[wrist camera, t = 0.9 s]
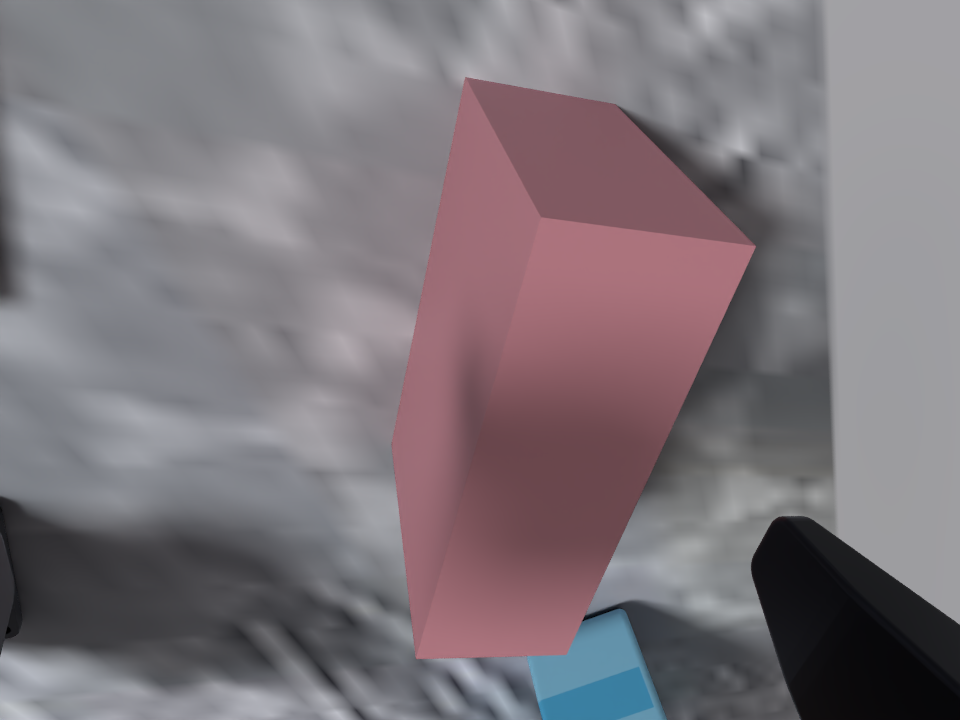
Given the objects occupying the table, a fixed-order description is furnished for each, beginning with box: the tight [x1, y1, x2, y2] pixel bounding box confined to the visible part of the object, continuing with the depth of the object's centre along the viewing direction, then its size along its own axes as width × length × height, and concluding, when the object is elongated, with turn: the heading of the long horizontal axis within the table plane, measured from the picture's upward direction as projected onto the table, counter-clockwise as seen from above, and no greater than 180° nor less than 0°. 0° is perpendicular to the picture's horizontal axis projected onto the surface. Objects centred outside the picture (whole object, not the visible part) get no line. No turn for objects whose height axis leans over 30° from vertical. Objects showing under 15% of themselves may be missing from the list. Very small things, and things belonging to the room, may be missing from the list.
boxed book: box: [392, 77, 756, 659], centre depth 19 cm, size 12×4×8 cm, turn 168°
